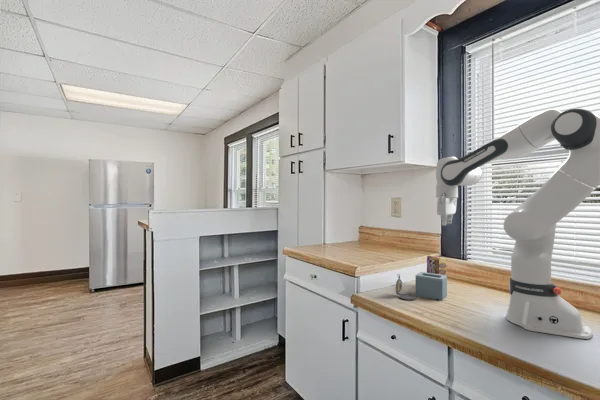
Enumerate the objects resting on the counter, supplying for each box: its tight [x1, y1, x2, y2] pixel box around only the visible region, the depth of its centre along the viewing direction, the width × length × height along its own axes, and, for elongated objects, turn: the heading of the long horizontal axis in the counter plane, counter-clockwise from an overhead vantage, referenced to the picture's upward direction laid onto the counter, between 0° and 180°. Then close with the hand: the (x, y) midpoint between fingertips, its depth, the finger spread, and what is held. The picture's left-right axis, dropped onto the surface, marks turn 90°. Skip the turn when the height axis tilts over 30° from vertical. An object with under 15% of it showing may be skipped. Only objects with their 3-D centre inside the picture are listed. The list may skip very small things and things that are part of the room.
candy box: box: [426, 254, 447, 275], centre depth 146 cm, size 9×4×15 cm, turn 13°
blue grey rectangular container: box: [415, 271, 448, 301], centre depth 135 cm, size 11×8×9 cm
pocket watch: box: [395, 273, 416, 301], centre depth 133 cm, size 8×8×10 cm
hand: (446, 224), depth 137 cm, fingers open, 8 cm apart
